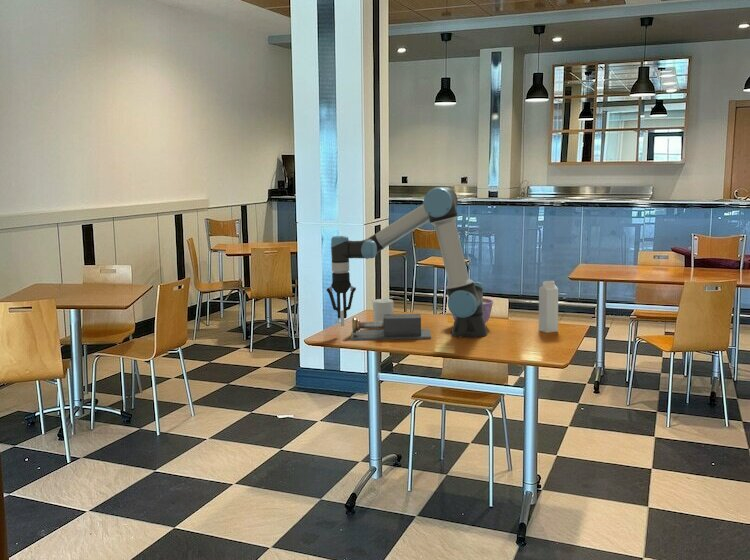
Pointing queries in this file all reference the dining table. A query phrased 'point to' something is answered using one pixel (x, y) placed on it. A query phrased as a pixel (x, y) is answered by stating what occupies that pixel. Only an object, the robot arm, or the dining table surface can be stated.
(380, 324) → the shaft
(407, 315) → the bearing block
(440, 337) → the dining table surface
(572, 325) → the dining table surface
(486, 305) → the bowl of food
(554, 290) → the milk
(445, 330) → the dining table surface
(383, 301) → the candle holder
